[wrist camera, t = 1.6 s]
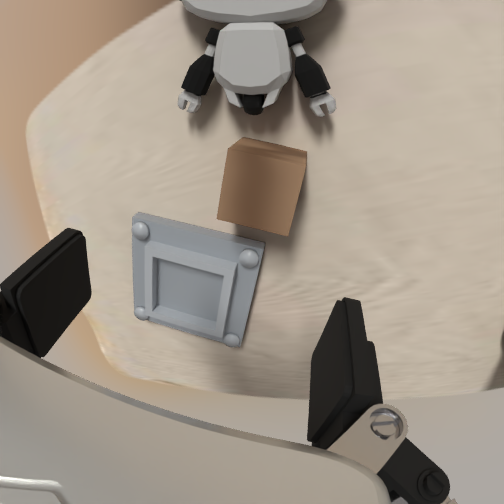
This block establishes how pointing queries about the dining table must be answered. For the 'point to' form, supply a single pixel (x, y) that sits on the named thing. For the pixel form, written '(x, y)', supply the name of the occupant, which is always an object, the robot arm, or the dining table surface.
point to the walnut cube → (261, 185)
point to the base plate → (193, 277)
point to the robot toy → (255, 54)
